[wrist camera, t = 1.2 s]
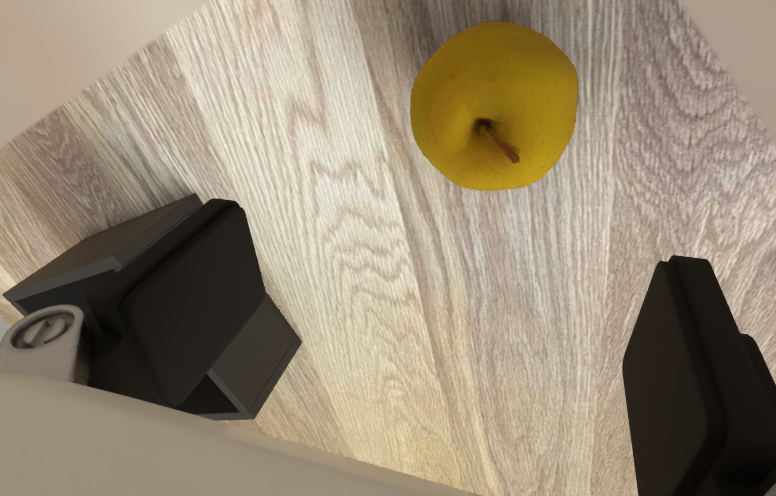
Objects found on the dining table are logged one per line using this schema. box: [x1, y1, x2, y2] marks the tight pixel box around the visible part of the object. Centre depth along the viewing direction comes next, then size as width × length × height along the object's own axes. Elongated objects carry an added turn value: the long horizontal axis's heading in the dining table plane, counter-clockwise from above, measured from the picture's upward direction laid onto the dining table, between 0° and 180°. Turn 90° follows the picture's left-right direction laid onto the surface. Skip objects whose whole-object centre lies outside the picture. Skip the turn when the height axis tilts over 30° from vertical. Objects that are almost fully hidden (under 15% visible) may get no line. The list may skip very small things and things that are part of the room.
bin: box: [2, 194, 302, 420], centre depth 36 cm, size 15×15×8 cm
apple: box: [410, 22, 578, 191], centre depth 18 cm, size 6×6×8 cm
